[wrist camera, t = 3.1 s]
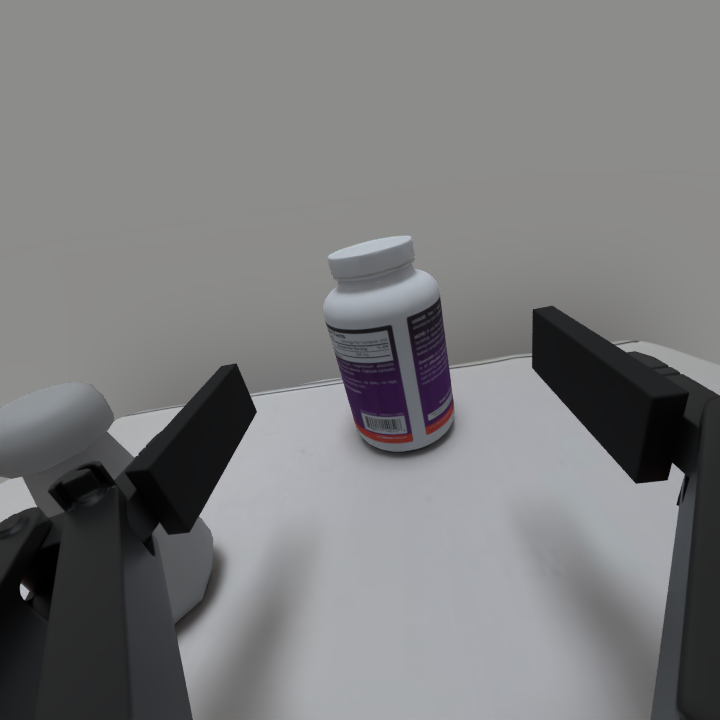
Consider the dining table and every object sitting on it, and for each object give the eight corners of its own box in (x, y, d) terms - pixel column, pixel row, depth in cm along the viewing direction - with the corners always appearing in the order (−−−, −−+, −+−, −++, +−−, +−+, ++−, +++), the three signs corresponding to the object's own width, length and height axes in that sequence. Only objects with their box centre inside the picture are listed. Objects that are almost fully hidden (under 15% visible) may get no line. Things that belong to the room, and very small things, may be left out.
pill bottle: (430, 387, 32) (406, 228, 25) (475, 436, 24) (457, 232, 18) (349, 413, 31) (303, 255, 25) (371, 473, 23) (315, 270, 17)
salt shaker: (243, 582, 18) (120, 381, 13) (130, 686, 15) (-100, 477, 10) (205, 526, 22) (100, 356, 17) (111, 598, 19) (-58, 417, 14)
